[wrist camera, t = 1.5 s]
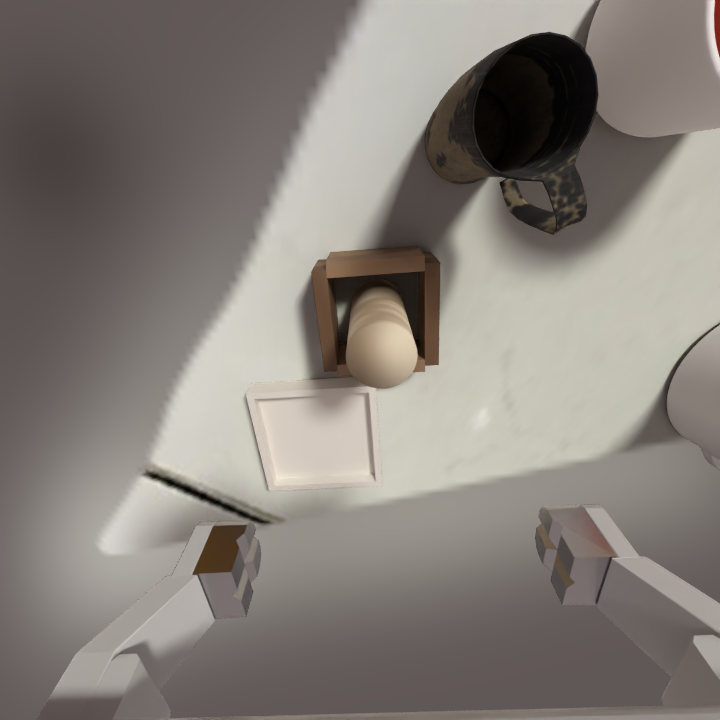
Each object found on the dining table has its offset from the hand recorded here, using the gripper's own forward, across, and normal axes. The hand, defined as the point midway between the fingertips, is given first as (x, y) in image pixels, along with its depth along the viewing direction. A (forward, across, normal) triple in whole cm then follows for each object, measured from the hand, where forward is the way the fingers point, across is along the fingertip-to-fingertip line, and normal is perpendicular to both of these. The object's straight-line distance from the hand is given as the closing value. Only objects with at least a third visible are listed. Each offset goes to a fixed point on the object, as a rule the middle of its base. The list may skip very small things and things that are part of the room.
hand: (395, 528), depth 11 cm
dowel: (+21, 0, 0) cm, 21 cm away
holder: (+21, 0, 0) cm, 21 cm away
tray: (+21, +6, +12) cm, 25 cm away
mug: (+22, -7, -10) cm, 25 cm away
